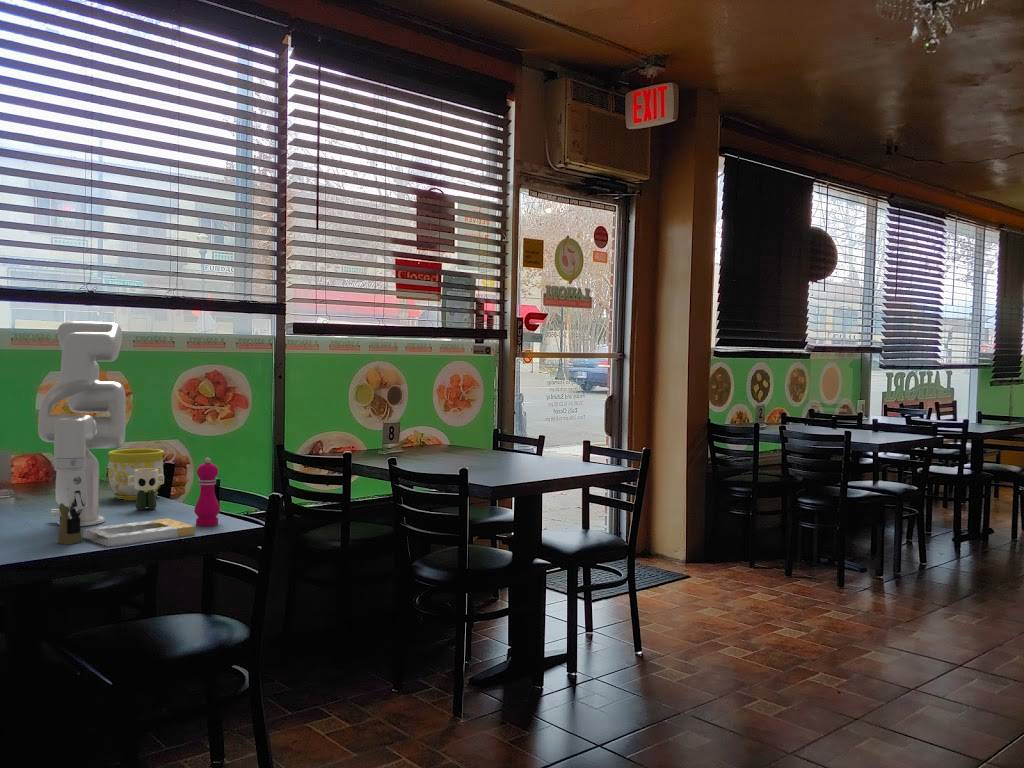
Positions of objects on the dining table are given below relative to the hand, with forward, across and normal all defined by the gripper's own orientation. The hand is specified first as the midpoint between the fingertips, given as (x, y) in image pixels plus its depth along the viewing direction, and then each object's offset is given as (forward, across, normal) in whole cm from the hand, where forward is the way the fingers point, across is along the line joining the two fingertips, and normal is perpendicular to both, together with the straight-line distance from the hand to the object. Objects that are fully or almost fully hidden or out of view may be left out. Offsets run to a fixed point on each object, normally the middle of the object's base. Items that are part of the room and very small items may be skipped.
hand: (70, 531), depth 235 cm
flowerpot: (+4, +60, -44) cm, 75 cm away
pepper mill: (+3, -1, -39) cm, 39 cm away
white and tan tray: (+3, -5, -17) cm, 18 cm away
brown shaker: (+3, 0, 0) cm, 3 cm away
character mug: (+4, +35, -37) cm, 51 cm away
